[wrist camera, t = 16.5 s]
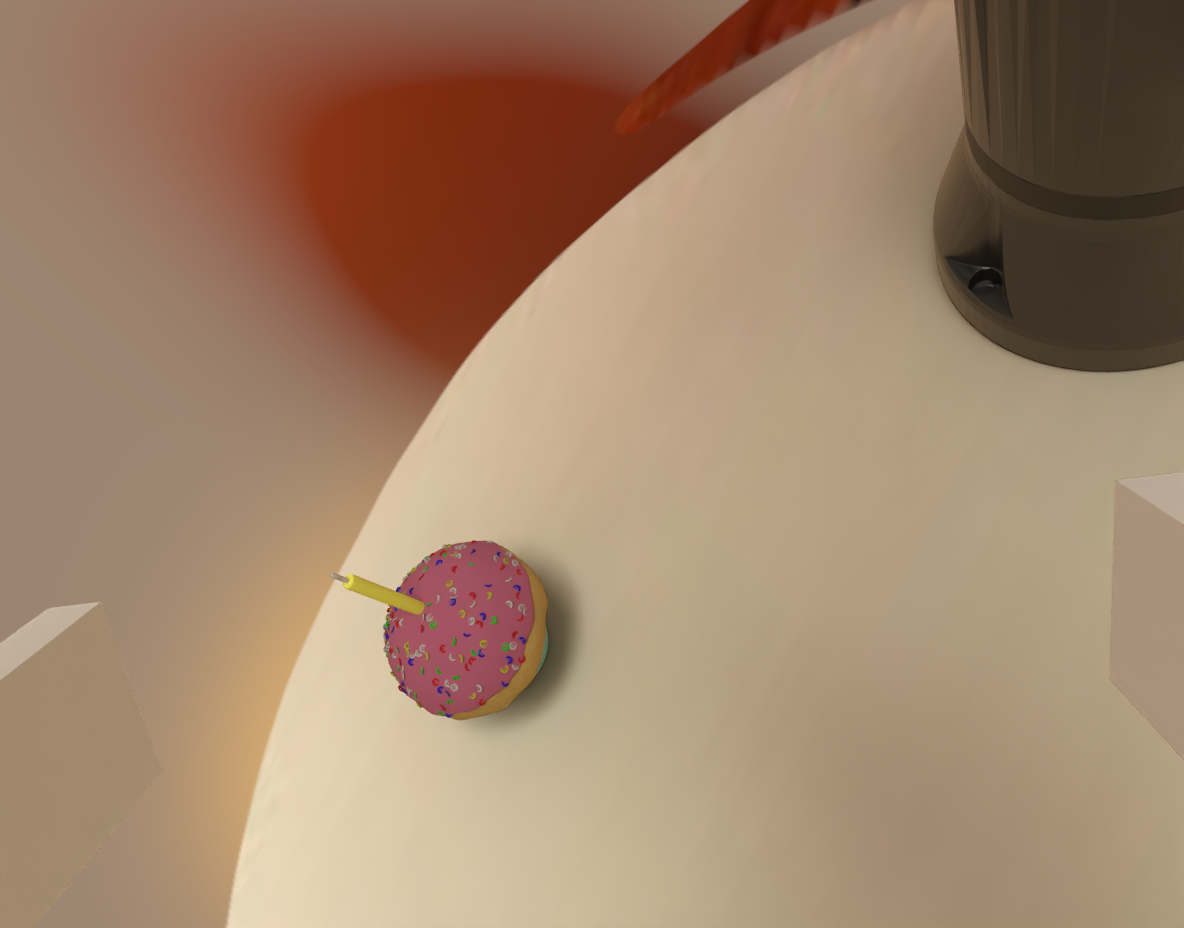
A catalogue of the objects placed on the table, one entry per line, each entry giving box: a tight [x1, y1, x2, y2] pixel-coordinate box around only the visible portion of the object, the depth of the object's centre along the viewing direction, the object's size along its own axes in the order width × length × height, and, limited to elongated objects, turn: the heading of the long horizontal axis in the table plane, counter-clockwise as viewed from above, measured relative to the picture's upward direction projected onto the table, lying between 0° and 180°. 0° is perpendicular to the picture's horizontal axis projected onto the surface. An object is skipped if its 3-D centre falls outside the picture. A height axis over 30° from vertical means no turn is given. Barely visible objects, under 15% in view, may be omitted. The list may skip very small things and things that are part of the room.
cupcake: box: [330, 541, 548, 720], centre depth 40 cm, size 9×8×12 cm
